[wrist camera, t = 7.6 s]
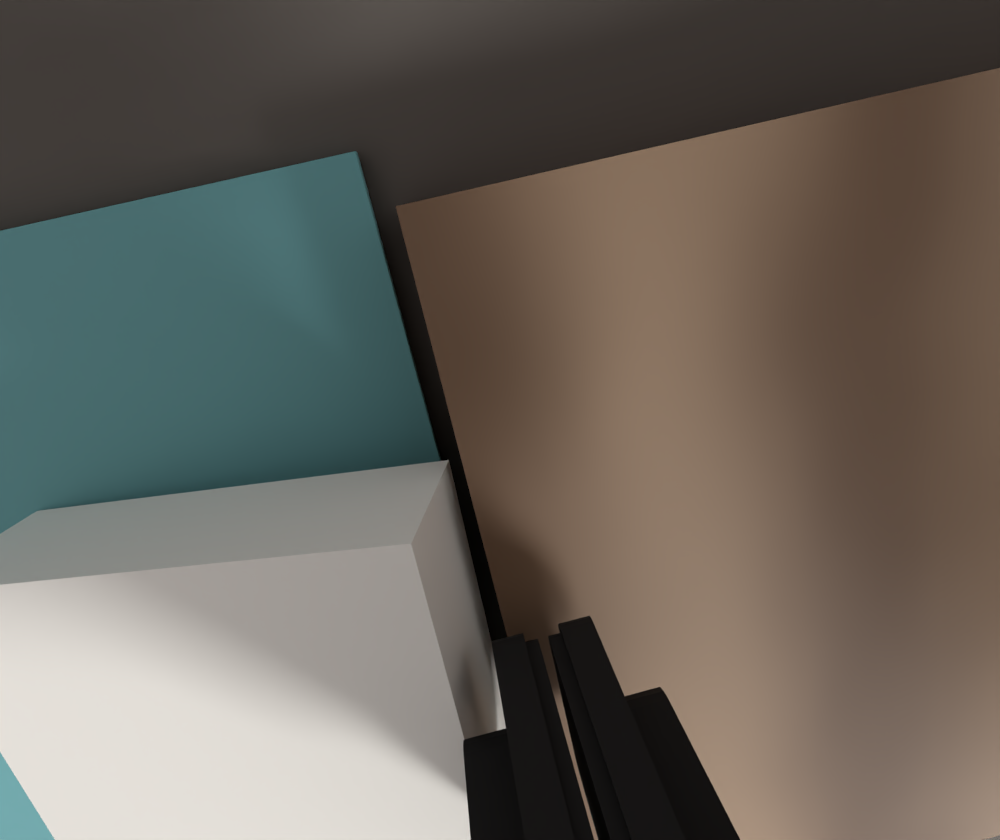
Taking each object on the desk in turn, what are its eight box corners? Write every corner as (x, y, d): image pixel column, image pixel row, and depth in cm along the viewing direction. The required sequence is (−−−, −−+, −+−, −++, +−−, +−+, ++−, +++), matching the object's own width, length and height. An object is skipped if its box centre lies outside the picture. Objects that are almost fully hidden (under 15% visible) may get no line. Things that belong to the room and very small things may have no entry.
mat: (358, 152, 11) (355, 151, 10) (549, 856, 17) (552, 871, 16) (-363, 314, 10) (-392, 319, 10) (109, 979, 16) (102, 997, 16)
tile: (449, 459, 10) (411, 543, 8) (521, 769, 13) (509, 903, 10) (36, 510, 12) (-99, 594, 9) (173, 780, 14) (93, 901, 12)
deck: (1128, 39, 12) (1355, -14, 9) (1047, 690, 17) (1171, 785, 14) (401, 206, 11) (394, 206, 8) (560, 826, 16) (589, 953, 14)
